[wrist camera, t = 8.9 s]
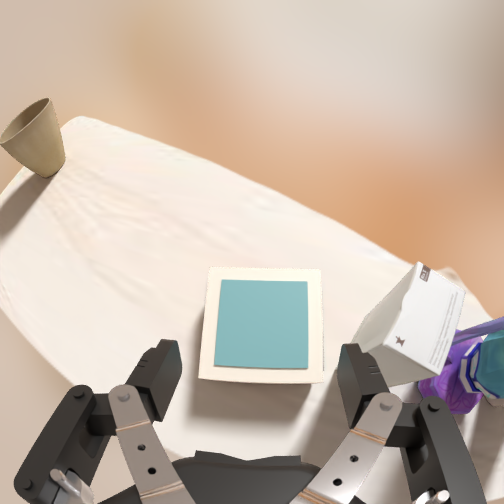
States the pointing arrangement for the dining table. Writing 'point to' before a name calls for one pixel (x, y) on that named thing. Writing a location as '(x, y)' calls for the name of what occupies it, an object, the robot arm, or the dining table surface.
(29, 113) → the plant pot
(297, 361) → the block
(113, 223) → the dining table surface
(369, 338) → the skincare box
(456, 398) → the lantern
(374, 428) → the robot arm
